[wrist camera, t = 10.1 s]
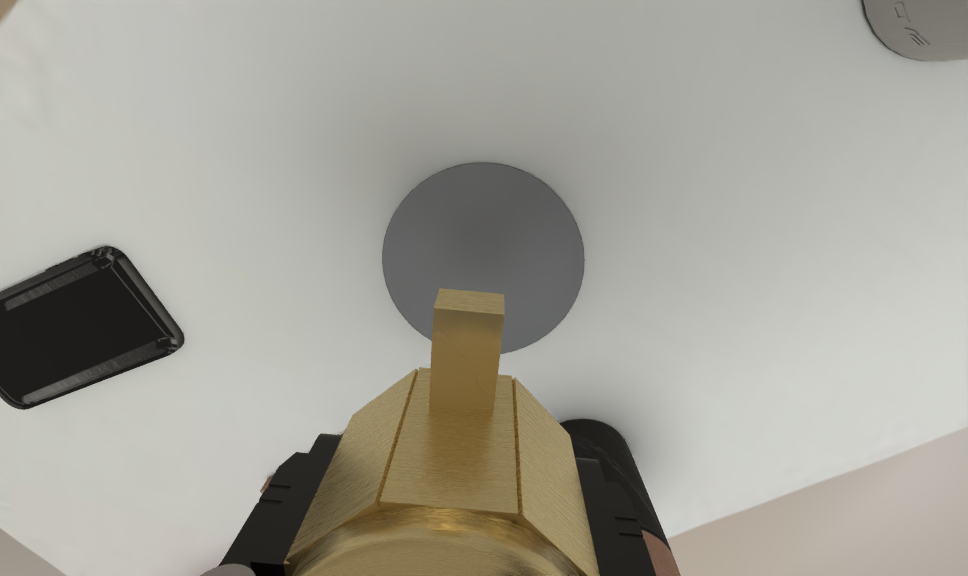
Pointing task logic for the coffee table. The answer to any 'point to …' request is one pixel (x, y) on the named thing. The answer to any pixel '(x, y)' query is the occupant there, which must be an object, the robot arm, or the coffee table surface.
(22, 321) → the phone
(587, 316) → the coffee table surface
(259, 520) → the robot arm
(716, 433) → the coffee table surface
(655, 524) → the travel mug
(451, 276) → the coaster
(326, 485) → the brass pipe fitting
